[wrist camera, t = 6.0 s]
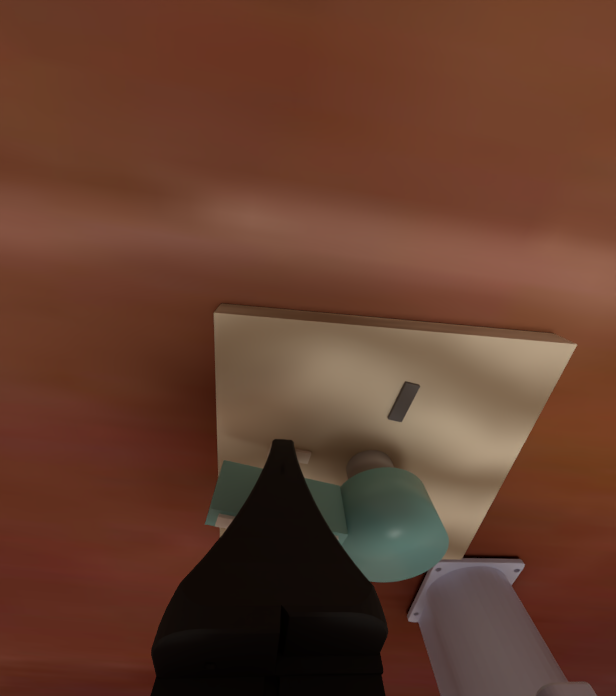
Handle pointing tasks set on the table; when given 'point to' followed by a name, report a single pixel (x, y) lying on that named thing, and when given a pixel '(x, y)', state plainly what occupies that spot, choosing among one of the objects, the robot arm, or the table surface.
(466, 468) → the post base
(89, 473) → the table surface
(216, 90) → the table surface
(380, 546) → the knob
